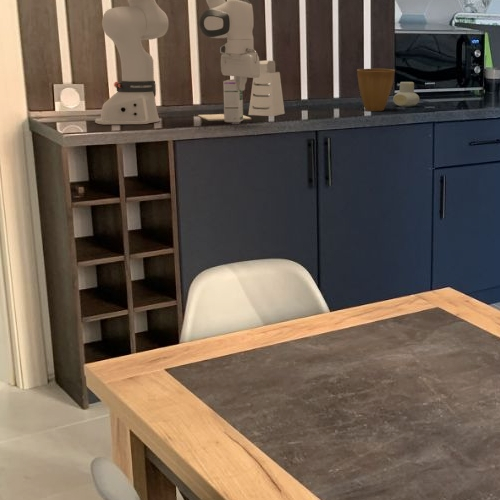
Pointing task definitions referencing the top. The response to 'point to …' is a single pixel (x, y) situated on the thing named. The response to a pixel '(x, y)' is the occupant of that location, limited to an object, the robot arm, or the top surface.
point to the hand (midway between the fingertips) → (240, 90)
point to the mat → (217, 117)
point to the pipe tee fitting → (406, 95)
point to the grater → (267, 92)
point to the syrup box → (232, 102)
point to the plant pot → (375, 87)
